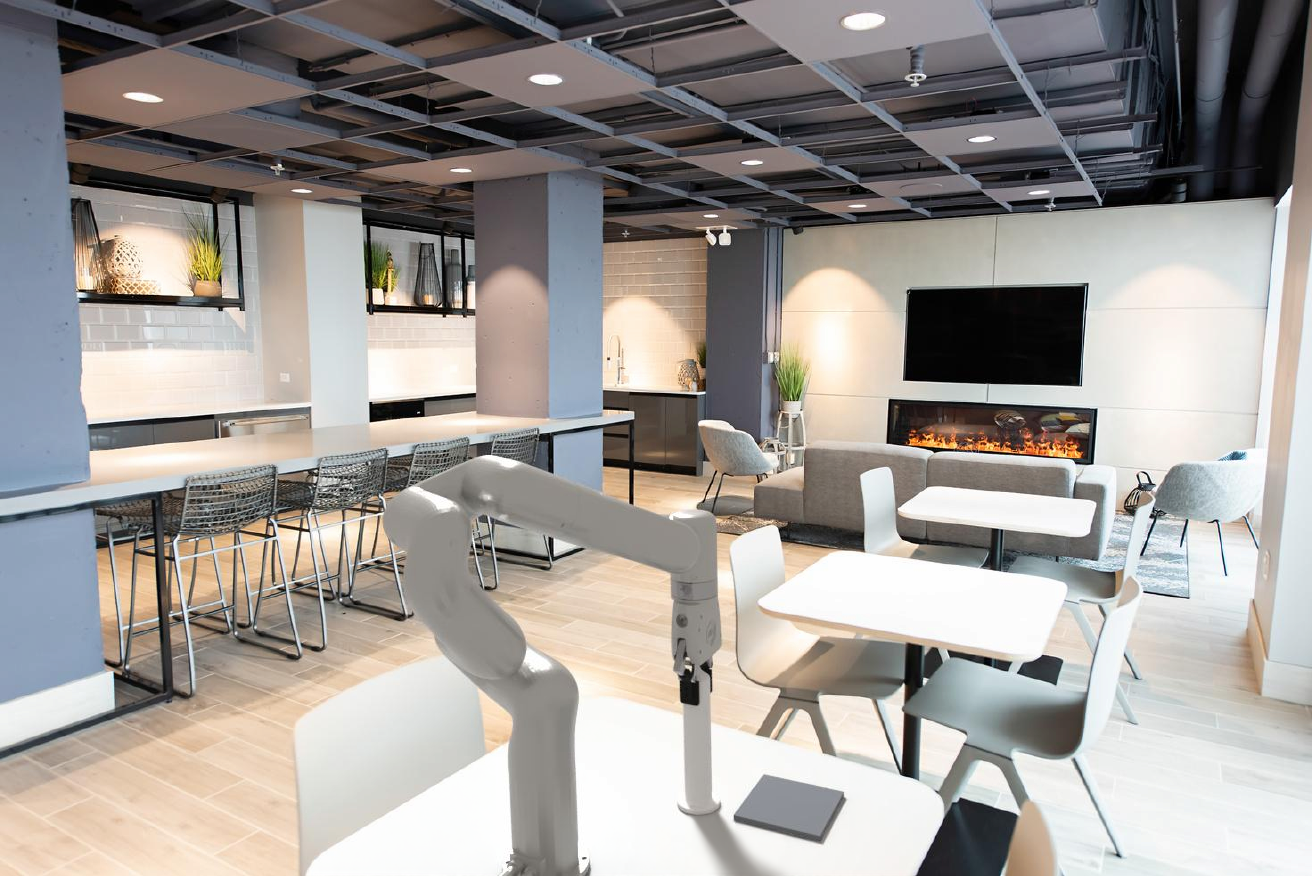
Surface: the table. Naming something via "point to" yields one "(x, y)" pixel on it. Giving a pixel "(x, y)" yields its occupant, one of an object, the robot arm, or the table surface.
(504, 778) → the table surface
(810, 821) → the mat
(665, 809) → the table surface
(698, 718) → the candle
